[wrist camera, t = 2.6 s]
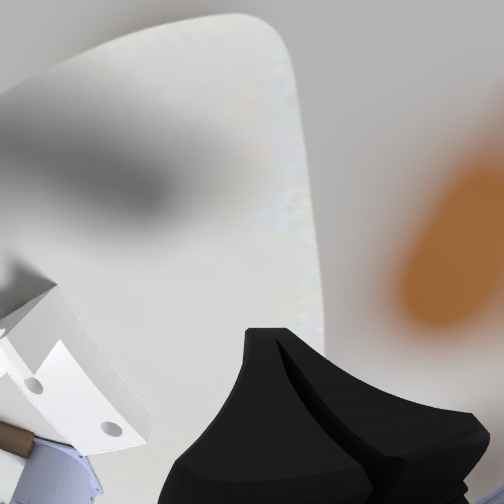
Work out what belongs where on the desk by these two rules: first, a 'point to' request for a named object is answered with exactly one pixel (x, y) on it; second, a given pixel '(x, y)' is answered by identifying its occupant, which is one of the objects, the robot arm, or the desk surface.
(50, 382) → the bracket
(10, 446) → the box
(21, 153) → the desk surface
